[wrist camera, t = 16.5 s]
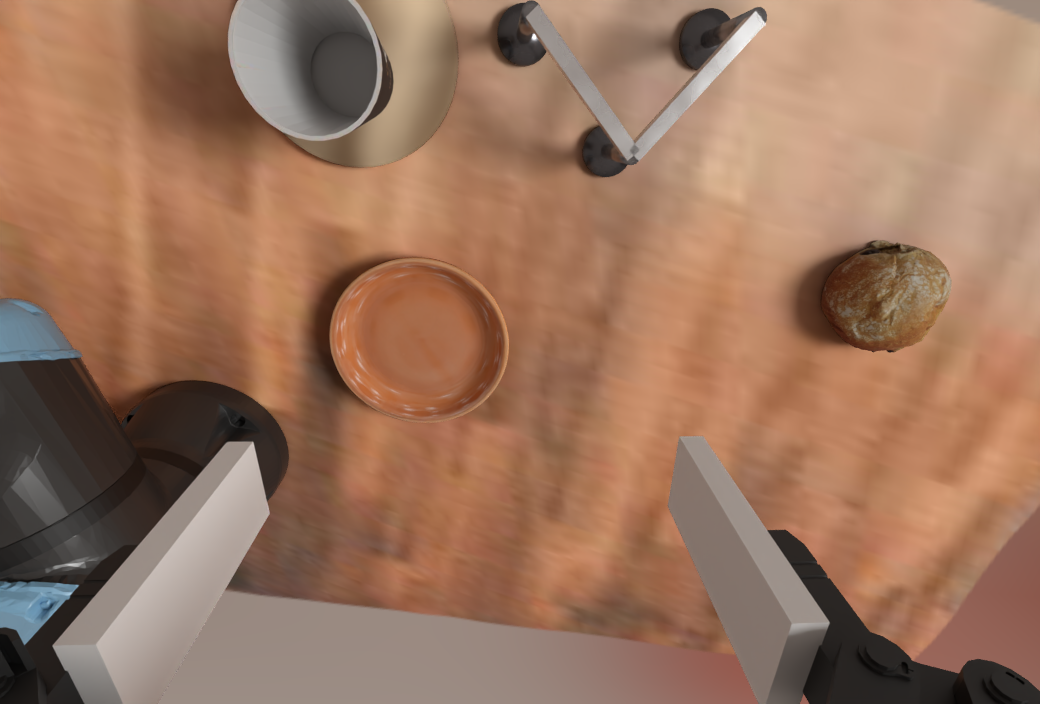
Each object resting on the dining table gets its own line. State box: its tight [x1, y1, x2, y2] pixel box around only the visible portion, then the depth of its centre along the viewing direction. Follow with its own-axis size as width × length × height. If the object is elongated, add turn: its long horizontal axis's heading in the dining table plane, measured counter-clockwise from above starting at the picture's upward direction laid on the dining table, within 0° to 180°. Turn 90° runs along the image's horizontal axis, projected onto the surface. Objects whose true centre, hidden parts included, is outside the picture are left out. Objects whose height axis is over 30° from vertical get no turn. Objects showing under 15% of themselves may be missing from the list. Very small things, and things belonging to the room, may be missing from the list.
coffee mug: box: [228, 0, 394, 141], centre depth 33 cm, size 12×9×10 cm
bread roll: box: [821, 241, 952, 352], centre depth 46 cm, size 10×10×8 cm
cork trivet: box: [283, 0, 458, 167], centre depth 38 cm, size 16×16×1 cm
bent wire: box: [498, 1, 767, 177], centre depth 36 cm, size 18×12×9 cm, turn 89°
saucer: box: [329, 257, 509, 423], centre depth 47 cm, size 16×16×3 cm
